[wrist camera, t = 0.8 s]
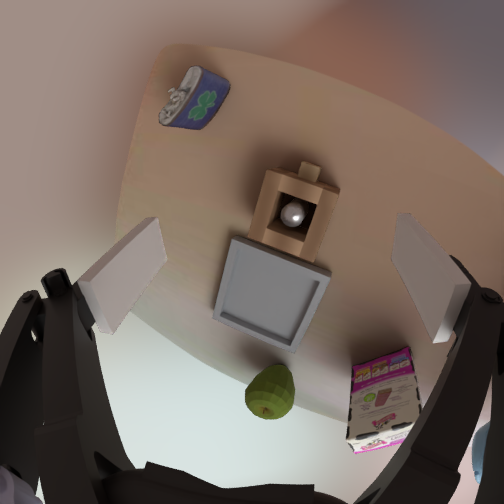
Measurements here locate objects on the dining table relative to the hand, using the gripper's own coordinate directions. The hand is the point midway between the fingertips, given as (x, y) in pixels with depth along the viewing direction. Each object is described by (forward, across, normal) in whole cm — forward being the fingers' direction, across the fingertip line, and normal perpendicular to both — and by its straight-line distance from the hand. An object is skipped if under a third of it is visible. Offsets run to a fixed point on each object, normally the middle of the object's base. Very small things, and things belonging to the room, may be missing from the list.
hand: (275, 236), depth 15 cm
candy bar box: (+18, -17, +33) cm, 41 cm away
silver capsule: (+24, -2, +7) cm, 25 cm away
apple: (+20, +1, +37) cm, 42 cm away
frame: (+24, -2, +7) cm, 25 cm away
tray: (+23, +3, +21) cm, 31 cm away
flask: (+29, +11, -9) cm, 32 cm away
